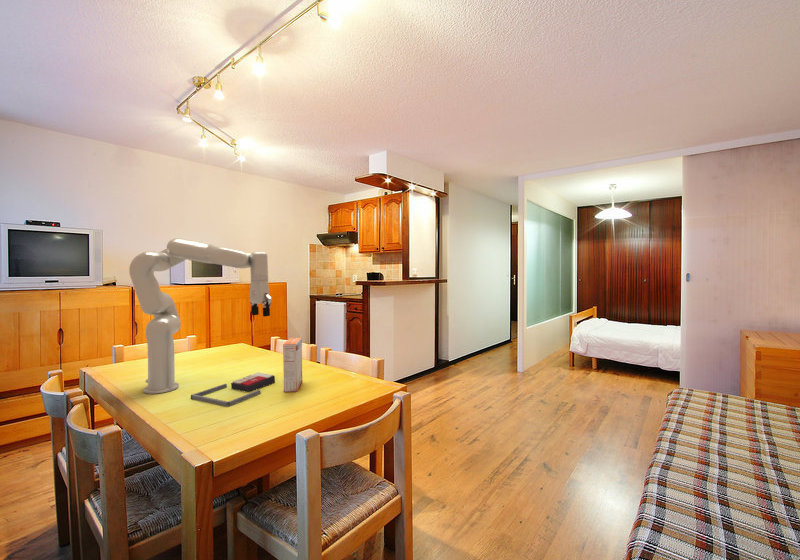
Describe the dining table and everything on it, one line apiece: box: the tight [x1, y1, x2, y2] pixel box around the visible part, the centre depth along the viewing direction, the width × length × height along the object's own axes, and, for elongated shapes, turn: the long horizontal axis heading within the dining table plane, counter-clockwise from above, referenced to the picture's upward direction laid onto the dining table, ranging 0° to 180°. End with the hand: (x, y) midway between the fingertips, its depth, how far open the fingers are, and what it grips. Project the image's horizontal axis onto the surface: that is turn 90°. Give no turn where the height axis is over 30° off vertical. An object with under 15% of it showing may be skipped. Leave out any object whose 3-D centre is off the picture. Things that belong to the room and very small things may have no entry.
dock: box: [190, 383, 262, 408], centre depth 142 cm, size 21×16×2 cm
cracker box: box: [282, 337, 303, 393], centre depth 154 cm, size 14×6×21 cm, turn 6°
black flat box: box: [230, 372, 276, 393], centre depth 156 cm, size 11×4×15 cm
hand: (260, 315), depth 161 cm, fingers open, 9 cm apart
